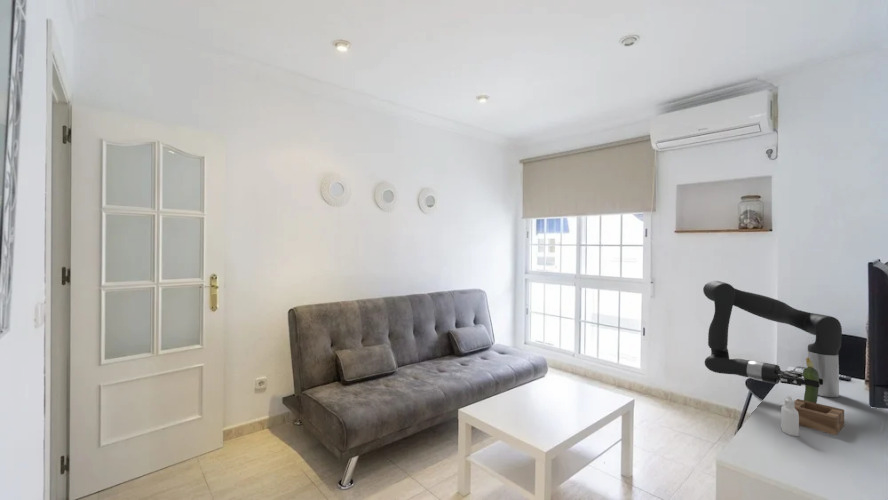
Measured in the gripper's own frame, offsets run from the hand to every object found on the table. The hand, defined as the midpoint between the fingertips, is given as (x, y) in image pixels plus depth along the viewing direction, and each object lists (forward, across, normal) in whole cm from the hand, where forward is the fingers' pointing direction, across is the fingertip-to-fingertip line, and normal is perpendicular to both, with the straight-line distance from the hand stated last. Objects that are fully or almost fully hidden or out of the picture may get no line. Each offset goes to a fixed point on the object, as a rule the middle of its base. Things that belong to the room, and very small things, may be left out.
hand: (820, 383), depth 142 cm
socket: (+1, -14, +11) cm, 18 cm away
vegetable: (-3, 0, +11) cm, 12 cm away
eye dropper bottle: (-2, -30, +11) cm, 32 cm away
